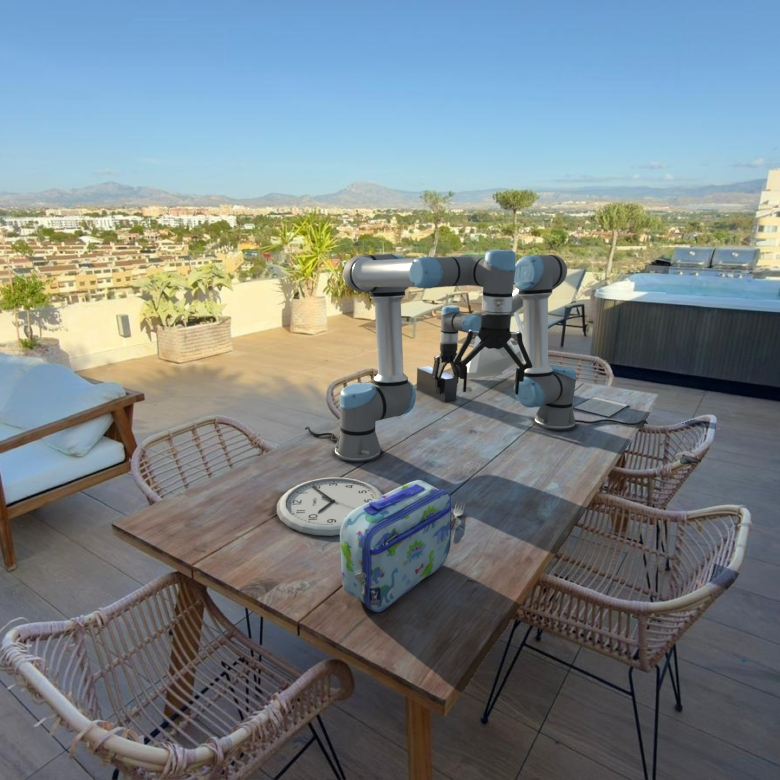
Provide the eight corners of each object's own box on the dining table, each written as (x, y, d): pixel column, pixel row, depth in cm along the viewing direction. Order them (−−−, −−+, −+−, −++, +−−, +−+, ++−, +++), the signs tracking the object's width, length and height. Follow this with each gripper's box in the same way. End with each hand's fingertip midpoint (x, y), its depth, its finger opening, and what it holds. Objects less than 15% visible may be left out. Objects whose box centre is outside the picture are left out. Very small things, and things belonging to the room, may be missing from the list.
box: (456, 399, 232) (457, 377, 229) (444, 402, 229) (445, 379, 226) (427, 387, 250) (428, 366, 247) (416, 389, 246) (417, 367, 243)
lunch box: (369, 626, 100) (370, 530, 93) (334, 598, 107) (332, 507, 101) (455, 567, 117) (460, 483, 111) (419, 547, 124) (423, 467, 118)
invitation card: (608, 416, 214) (573, 407, 224) (608, 416, 214) (573, 408, 224) (628, 404, 229) (594, 396, 238) (628, 405, 229) (594, 397, 238)
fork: (441, 537, 129) (441, 530, 128) (456, 506, 143) (456, 499, 142) (451, 539, 128) (452, 532, 127) (465, 508, 142) (466, 501, 142)
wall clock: (392, 527, 129) (268, 531, 127) (391, 533, 130) (269, 537, 127) (383, 473, 158) (282, 475, 155) (383, 478, 158) (282, 480, 156)
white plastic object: (482, 420, 263) (461, 397, 239) (463, 347, 285) (443, 319, 261) (554, 396, 251) (539, 370, 226) (528, 322, 273) (513, 290, 249)
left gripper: (447, 313, 131) (443, 393, 137) (549, 316, 128) (540, 398, 135) (447, 308, 138) (443, 385, 144) (544, 311, 135) (535, 390, 142)
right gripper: (462, 338, 234) (459, 386, 241) (424, 342, 223) (422, 393, 230) (473, 341, 228) (470, 391, 235) (434, 346, 217) (432, 398, 224)
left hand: (490, 391), depth 140 cm, fingers open, 13 cm apart
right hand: (446, 392), depth 232 cm, fingers open, 8 cm apart
